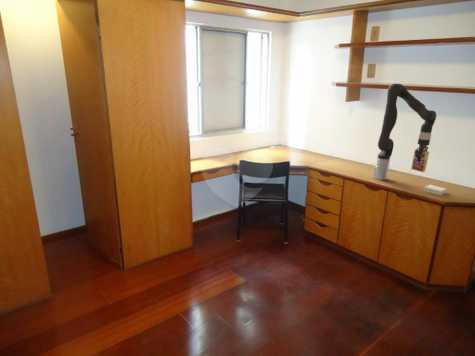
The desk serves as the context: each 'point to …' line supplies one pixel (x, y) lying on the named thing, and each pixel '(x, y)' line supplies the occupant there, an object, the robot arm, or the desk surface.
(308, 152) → the desk surface
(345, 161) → the desk surface
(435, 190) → the plinth
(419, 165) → the candy box
